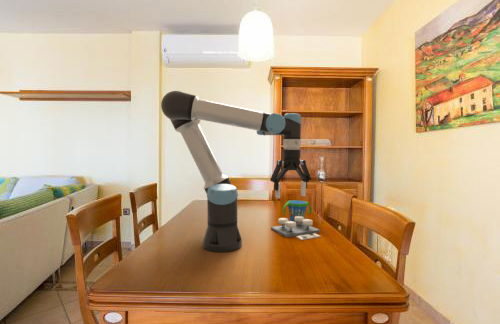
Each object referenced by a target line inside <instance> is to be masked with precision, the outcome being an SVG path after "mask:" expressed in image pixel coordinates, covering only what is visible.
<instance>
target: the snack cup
mask: <svg viewBox="0 0 500 324" xmlns="http://www.w3.org/2000/svg"><path fill="white" fill-rule="evenodd" d="M286 207H287V208H288V215H289V221H294V222H295V216H302V217H304V219H306V212H307V207H309V209H308V214H309V215H311V214H312V206H311V204H310V203H309V202H308V201H306V200H297V199H294V200H293V199H291V200H287V202H286V203H285V204H284V205H283V207H282V214H283V216H286Z"/></svg>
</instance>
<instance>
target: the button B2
mask: <svg viewBox="0 0 500 324" xmlns="http://www.w3.org/2000/svg"><path fill="white" fill-rule="evenodd" d="M303 219H304V217H302V216H295V222H296V223H297V224H298V225H301V223H302V220H303Z"/></svg>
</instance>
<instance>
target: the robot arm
mask: <svg viewBox="0 0 500 324" xmlns="http://www.w3.org/2000/svg"><path fill="white" fill-rule="evenodd" d="M162 97H163V98H162V99H161V102H160V107H161V112H162V113H163V115H164V116H165V117H166V118H168V119H169V120H170V122H171V124H172V127H173V128H174V130H175V131H176V132H177V133H180V135H181V136H182V139H183V140H184V142H185V144H186V146H187V148H188V151H189V153H190V155H191V157H192V159H193V161H194V163H195V165H196V167H197V169H198V171H199V173H200V176H201V178H202V179H203V181H204V186H203V190H204V191H205V193H206V198H207V202H206V203H207V225H206V226H207V228H206V231H205V232H204V233H205V234H204V236H203V239H202V247H203V248H204V249H205V250H207V251H210V252H215V253H216V252H217V253H226V252H232V251H236V250H238V249H240V248H241V247H242V245H243V244H242V242H243V239H242V235H241V233H240V230H239V227H238V196H239V192H238V188H237V187H236V186H235V185H233V184H232V182H231V180H230V177H229V176H228V175H225V174H224V173H223V172H222V170H221V167H220V165H219V163H218V161H217V159H216V156H215V155H214V153H213V151H212V149H211V147H210V145H209V143H208V141H207V139H206V136H205V134H204V133H203V130H202V128H201V126H200V123H201V121H206V122H211V123H217V124H222V125H226V126H227V125H228V126H232V127H237V128H243V129H248V130H252V131H256V134H257V135H258V136H264V137H265V136H283V141H282V142H283V143H282V145H283V152H282V153H283V154H282V156H283V160H281V159H277V161H276V166H275V168H274V170H273V172H272V175H271V177H270V182H272V183H273V189H274V191H275V198H276V199H281V183H280V182H281V180H282V178H283V177H284V176H285V174H286V173H287V172H288V171H296V173H297V175H298V176H299V177H300V179H301V181H300V196H301V197H306V195H307V189H308V183H309V182H310V181H311V180H312V177H311V175H310V172H309V170H308V166H307V161H306V160H305V159H301V150H300V149H301V144H302V143H301V142H302V141H301V135H302V134H301V133H302V116H301V114H300V113H294V112H293V113H292V112H291V113H285V114H284V115H282V114H280V113H277V112H273V113H270V112H264V111H259V110H256V109H250V108H244V107H240V106H235V105H231V104H226V103H221V102H215V101H210V100H206V99H201V98H199V96H198V95H195V94H190V93H187V92H182V91H180V90H172V91H169V92H167V93H166V94H165V95H164V96H162Z"/></svg>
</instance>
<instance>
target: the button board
mask: <svg viewBox="0 0 500 324" xmlns="http://www.w3.org/2000/svg"><path fill="white" fill-rule="evenodd" d="M271 230H272V231H273V232H275V233H276V234H279V235H281V236H282V237H285V238H292V237H296V236H300V235H307V234H313V233H315V234H318V233H320V232H321V230H320V229H319V228H317V227H314V226H313V225H311V226H309V228H306V225H303V224H302V222H301V225H298V223H296V227H295V228H292V230H289V228H288V227H286V224H285V227H282V225H275V226H271Z"/></svg>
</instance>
